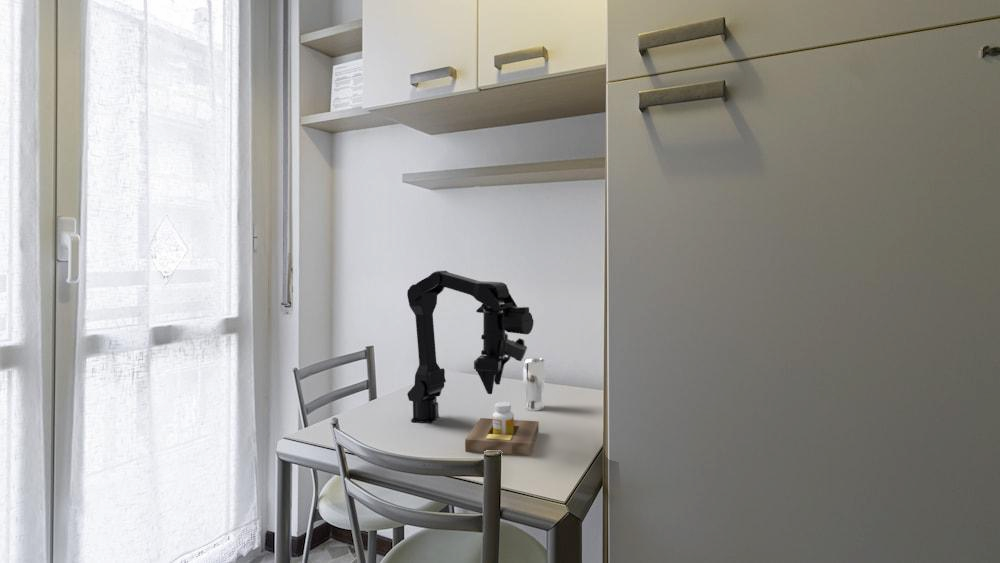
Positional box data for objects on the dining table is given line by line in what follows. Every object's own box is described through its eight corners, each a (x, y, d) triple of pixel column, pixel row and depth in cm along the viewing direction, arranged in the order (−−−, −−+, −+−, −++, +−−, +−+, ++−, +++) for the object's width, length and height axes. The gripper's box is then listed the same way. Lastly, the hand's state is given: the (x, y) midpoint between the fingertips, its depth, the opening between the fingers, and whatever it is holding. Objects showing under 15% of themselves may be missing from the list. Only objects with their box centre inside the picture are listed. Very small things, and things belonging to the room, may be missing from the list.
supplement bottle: (513, 437, 132) (512, 400, 132) (514, 445, 127) (514, 407, 126) (492, 437, 132) (492, 401, 132) (493, 445, 127) (492, 407, 126)
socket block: (465, 451, 123) (465, 438, 123) (480, 428, 139) (480, 416, 139) (530, 455, 120) (530, 442, 120) (538, 432, 136) (538, 420, 135)
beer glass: (527, 412, 153) (526, 363, 152) (520, 405, 159) (519, 358, 158) (548, 410, 155) (548, 361, 154) (540, 403, 161) (540, 357, 160)
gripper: (518, 338, 121) (517, 401, 122) (530, 326, 139) (529, 381, 140) (473, 336, 123) (473, 398, 124) (491, 324, 142) (490, 379, 143)
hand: (493, 389), depth 133 cm, fingers open, 9 cm apart
